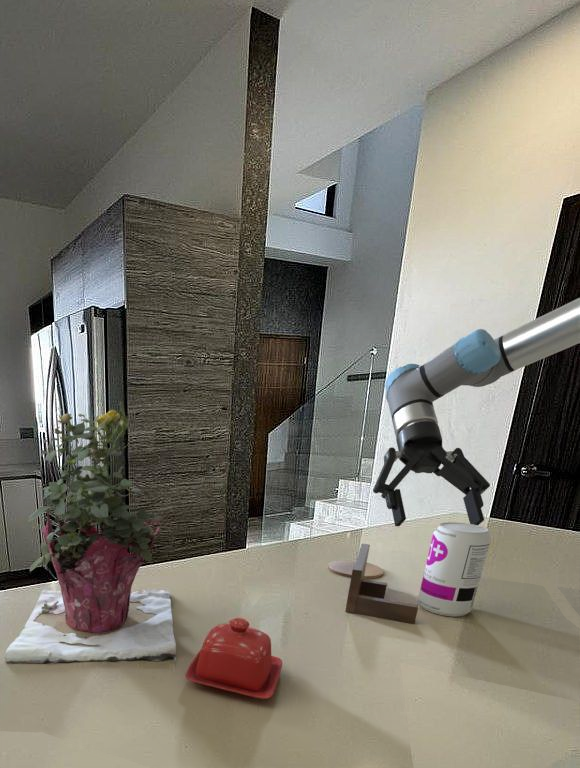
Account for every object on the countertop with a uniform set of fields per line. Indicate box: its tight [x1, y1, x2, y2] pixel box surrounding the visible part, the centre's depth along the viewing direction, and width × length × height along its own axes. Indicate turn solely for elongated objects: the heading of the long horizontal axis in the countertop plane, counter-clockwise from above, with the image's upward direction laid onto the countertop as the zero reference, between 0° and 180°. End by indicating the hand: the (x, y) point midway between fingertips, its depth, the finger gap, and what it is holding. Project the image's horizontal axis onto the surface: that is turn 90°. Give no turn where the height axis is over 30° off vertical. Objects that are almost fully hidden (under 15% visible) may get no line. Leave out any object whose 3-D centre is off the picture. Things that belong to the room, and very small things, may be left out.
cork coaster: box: [327, 559, 384, 580], centre depth 105 cm, size 11×11×1 cm
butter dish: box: [184, 617, 283, 700], centre depth 64 cm, size 12×12×8 cm
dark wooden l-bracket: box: [344, 543, 419, 625], centre depth 88 cm, size 11×18×8 cm, turn 151°
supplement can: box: [417, 521, 492, 617], centre depth 83 cm, size 8×8×15 cm
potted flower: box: [4, 401, 177, 664], centre depth 74 cm, size 27×25×35 cm
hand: (439, 523), depth 88 cm, fingers open, 13 cm apart
